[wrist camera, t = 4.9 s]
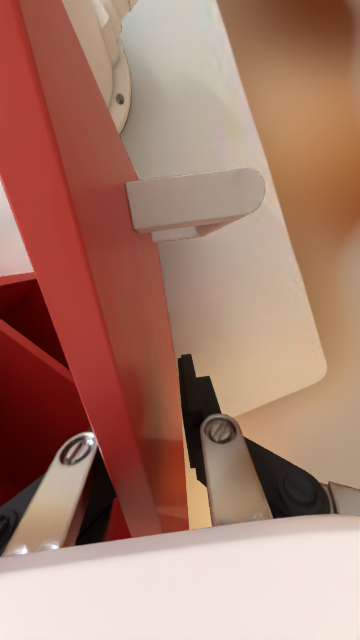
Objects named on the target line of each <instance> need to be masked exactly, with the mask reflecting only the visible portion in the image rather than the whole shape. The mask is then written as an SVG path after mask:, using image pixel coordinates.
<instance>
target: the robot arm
mask: <svg viewBox="0 0 360 640" xmlns="http://www.w3.org/2000/svg"><path fill="white" fill-rule="evenodd" d="M62 2H63V5H64V7H65V9H66V12H67V14H68V16H69V19H70V21H71V23H72V26H73V28H74V30H75V33H76V35H77V37H78V40H79V42H80V44H81V47H82V49H83V51H84V54H85V56H86V58H87V61H88V63H89V65H90V68H91V70H92V72H93V75H94V77H95V79H96V82H97V84H98V86H99V89H100V91H101V93H102V96H103V98H104V100H105V103H106V105H107V107H108V110H109V112H110V114H111V117H112V119H113V121H114V124H115V126H116V128H117V131H118V133H119V134H120V133H121V131H122V129H123V127H124V125H125V122H126V120H127V116H128V112H129V108H130V98H131V84H130V74H129V69H128V64H127V59H126V56H125V52H124V49H123V46H122V42H121V40H120V38H119V36H118V35H119V34H120V33H121V31H122V27H121V23H120V22H121V21H122V20H123V18H124V17H125V15H126V14H127V13H128V11H129V12H130V11H131V10H132V8H133V7H134V6H135V4H136V3H137V2H138V0H62ZM120 103H123V104H122V105H120ZM181 357H182V358H178V369H179V382H180V395H181V408H182V417H183V423H184V430H185V436H186V442H187V449H188V455H189V461H190V468H196V475H197V480H199V481H200V482H201V483H202V484H203V485H205V486H206V487H207V492H208V499H209V507H210V514H211V521H212V527H208V528H201V529H193V530H186V531H179V532H171V533H164V534H157V535H150V536H143V537H136V538H129V539H122V540H115V541H111V538H112V533H113V527H114V522H115V516H116V511H117V505H118V499H117V496H116V493H115V491H114V488H113V485H112V482H111V480H110V477H109V474H108V472H107V469H106V466H105V463H104V461H103V458H102V455H101V452H100V450H99V447H98V444H97V442H96V439H95V436H94V433H93V431H92V428H91V425H90V427H89V430H88V432H83V433H79V434H77V435H75V436H73V437H72V438H70V439H69V440H67V441H66V442H65V443H64V444H63V445H62V446H61V448H60V449H59V450H58V452H57V454H56V455H55V457H54V459H53V461H52V463H51V465H50V467H49V468H48V470H47V472H46V473H45V474H44V475H42V476H41V477H40V478H39V479H37V480H36V481H35V482H33V483H32V484H31V485H29V486H28V487H27V488H25V489H24V490H23V491H21V492H20V493H19V494H17V495H16V496H15V497H13V498H12V499H11V500H9V501H8V502H7V503H5V504H4V505H3V506H2V507H0V640H360V489H355V488H352V487H348V486H345V485H341V484H337V483H333V482H330V481H329V483H328V485H327V484H323V483H320V482H318V481H317V480H316V479H315V478H314V477H313V476H312V475H310V474H309V473H308V472H306V471H305V470H303V469H301V468H299V467H297V466H296V465H294V464H292V463H290V462H289V461H287V460H285V459H283V458H281V457H280V456H278V455H276V454H274V453H273V452H271V451H269V450H267V449H265V448H264V447H262V446H260V445H258V444H256V443H255V442H253V441H251V440H249V439H247V438H246V437H244V436H243V435H242V432H241V429H240V426H239V425H238V423H237V422H236V421H235V420H234V419H233V418H232V417H230V416H228V415H225V414H222V413H221V410H220V407H219V404H218V401H217V398H216V395H215V392H214V389H213V385H212V382H211V379H210V376H204V377H197V378H196V375H195V370H194V365H193V361H192V356H191V354H185V355H181Z"/></svg>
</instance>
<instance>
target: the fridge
mask: <svg viewBox="0 0 360 640" xmlns="http://www.w3.org/2000/svg"><path fill="white" fill-rule="evenodd" d="M89 427H90V422H89V420H88V417H87V414H86V412H85V409H84V406H83V403H82V401H81V398H80V395H79V392H78V390H77V387H76V384H75V382H74V379H73V376H72V373H71V371H70V368H69V365H68V363H67V360H66V357H65V354H64V352H63V349H62V346H61V343H60V341H59V338H58V335H57V333H56V330H55V327H54V324H53V322H52V319H51V316H50V313H49V311H48V308H47V305H46V303H45V300H44V297H43V294H42V292H41V289H40V286H39V284H38V281H37V278H36V275H35V273H34V272H32V273H25V274H18V275H11V276H3V277H0V507H2V506H3V505H4V504H5V503H7V502H8V501H9V500H11V499H12V498H13V497H15V496H16V495H17V494H19V493H20V492H21V491H23V490H24V489H25V488H27V487H28V486H29V485H31V484H32V483H33V482H35V481H36V480H37V479H39V478H40V477H41V476H42V475H44V474H45V473H46V472H47V470H48V468H49V467H50V465H51V463H52V461H53V459H54V457H55V455H56V454H57V452H58V450H59V449H60V448H61V446H62V445H63V444H64V443H65V442H66V441H67V440H69V439H70V438H72V437H73V436H75V435H77V434H79V433H83V432H88V430H89ZM129 538H132V537H131V534H130V531H129V529H128V526H127V523H126V521H125V518H124V515H123V512H122V510H121V507H120V504H119V501H118V505H117V511H116V516H115V522H114V527H113V533H112V538H111V541H115V540H122V539H129Z"/></svg>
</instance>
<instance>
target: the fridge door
mask: <svg viewBox="0 0 360 640" xmlns="http://www.w3.org/2000/svg"><path fill="white" fill-rule="evenodd" d="M0 180H1V183H2V185H3V188H4V191H5V194H6V196H7V199H8V202H9V204H10V207H11V210H12V213H13V215H14V218H15V221H16V224H17V226H18V229H19V232H20V234H21V237H22V240H23V243H24V245H25V248H26V251H27V254H28V256H29V259H30V262H31V264H32V267H33V270H34V273H35V275H36V278H37V281H38V284H39V286H40V289H41V292H42V294H43V297H44V300H45V303H46V305H47V308H48V311H49V313H50V316H51V319H52V322H53V324H54V327H55V330H56V333H57V335H58V338H59V341H60V343H61V346H62V349H63V352H64V354H65V357H66V360H67V363H68V365H69V368H70V371H71V373H72V376H73V379H74V382H75V384H76V387H77V390H78V392H79V395H80V398H81V401H82V403H83V406H84V409H85V412H86V414H87V417H88V420H89V422H90V425H91V428H92V431H93V433H94V436H95V439H96V442H97V444H98V447H99V450H100V452H101V455H102V458H103V461H104V463H105V466H106V469H107V472H108V474H109V477H110V480H111V482H112V485H113V488H114V491H115V493H116V496H117V499H118V501H119V504H120V507H121V510H122V512H123V515H124V518H125V521H126V523H127V526H128V529H129V531H130V534H131V537H132V538H136V537H143V536H150V535H157V534H164V533H171V532H179V531H186V530H189V521H188V506H187V493H186V478H185V463H184V449H183V435H182V420H181V406H180V392H179V381H178V375H177V368H176V362H175V355H174V349H173V342H172V336H171V329H170V323H169V316H168V310H167V304H166V297H165V291H164V284H163V278H162V271H161V265H160V258H159V252H158V245H157V243H158V242H166V241H173V240H181V239H188V238H195V237H203V236H206V235H208V234H210V233H212V232H214V231H216V230H218V229H220V228H222V227H224V226H226V225H228V224H230V223H232V222H234V221H236V220H238V219H240V218H242V217H244V216H246V215H248V214H250V213H252V212H254V211H255V210H256V209H257V208H258V207H259V206H260V204H261V203H262V201H263V198H264V194H265V183H264V179H263V177H262V175H261V174H260V173H259V172H258V171H257V170H255V169H254V168H250V167H239V168H232V169H224V170H217V171H209V172H202V173H194V174H187V175H179V176H171V177H164V178H156V179H149V180H141V181H139V180H138V178H137V175H136V173H135V171H134V168H133V166H132V164H131V161H130V159H129V157H128V154H127V152H126V150H125V147H124V145H123V143H122V140H121V138H120V135H119V133H118V131H117V128H116V126H115V124H114V121H113V119H112V117H111V114H110V112H109V110H108V107H107V105H106V103H105V100H104V98H103V96H102V93H101V91H100V89H99V86H98V84H97V82H96V79H95V77H94V75H93V72H92V70H91V68H90V65H89V63H88V61H87V58H86V56H85V54H84V51H83V49H82V47H81V44H80V42H79V40H78V37H77V35H76V33H75V30H74V28H73V26H72V23H71V21H70V19H69V16H68V14H67V12H66V9H65V7H64V5H63V2H62V0H0Z"/></svg>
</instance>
